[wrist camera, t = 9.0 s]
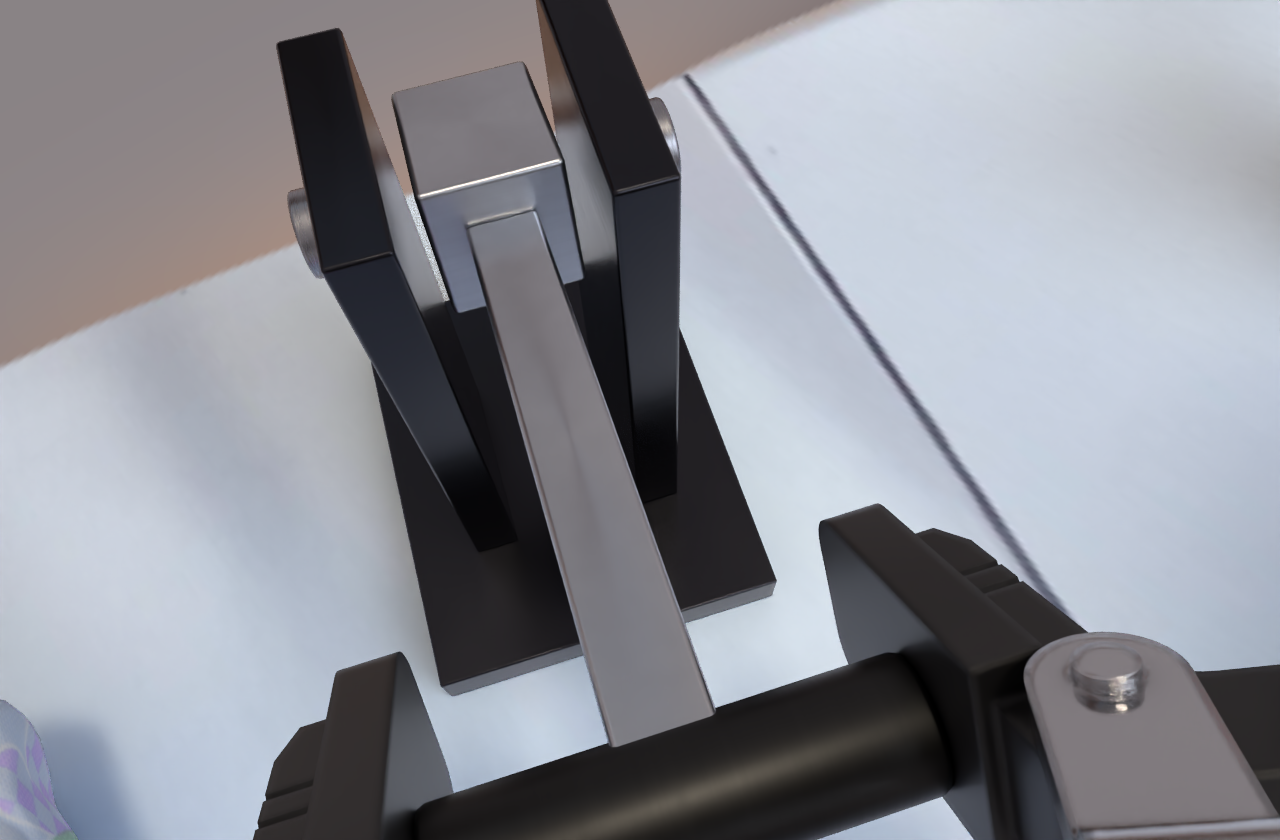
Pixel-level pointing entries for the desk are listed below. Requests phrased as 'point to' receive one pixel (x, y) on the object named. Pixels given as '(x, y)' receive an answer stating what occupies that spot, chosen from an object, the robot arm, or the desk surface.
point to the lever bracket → (473, 371)
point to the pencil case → (26, 783)
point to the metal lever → (628, 547)
